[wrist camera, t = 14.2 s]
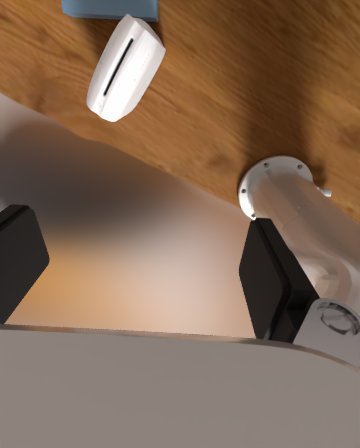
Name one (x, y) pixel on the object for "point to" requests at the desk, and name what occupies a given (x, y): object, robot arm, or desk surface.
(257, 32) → the desk surface
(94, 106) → the photo printer
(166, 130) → the desk surface
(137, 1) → the collar
